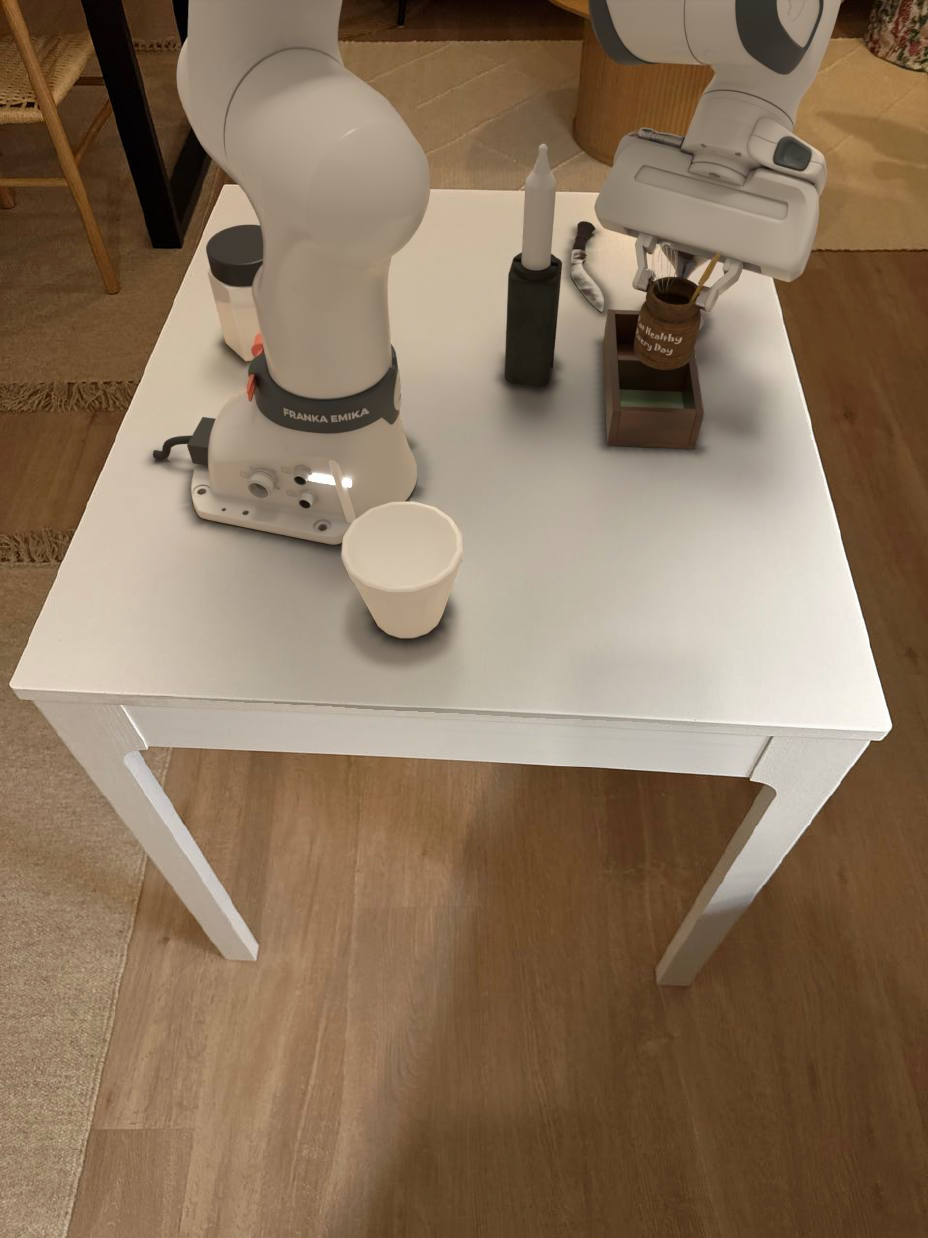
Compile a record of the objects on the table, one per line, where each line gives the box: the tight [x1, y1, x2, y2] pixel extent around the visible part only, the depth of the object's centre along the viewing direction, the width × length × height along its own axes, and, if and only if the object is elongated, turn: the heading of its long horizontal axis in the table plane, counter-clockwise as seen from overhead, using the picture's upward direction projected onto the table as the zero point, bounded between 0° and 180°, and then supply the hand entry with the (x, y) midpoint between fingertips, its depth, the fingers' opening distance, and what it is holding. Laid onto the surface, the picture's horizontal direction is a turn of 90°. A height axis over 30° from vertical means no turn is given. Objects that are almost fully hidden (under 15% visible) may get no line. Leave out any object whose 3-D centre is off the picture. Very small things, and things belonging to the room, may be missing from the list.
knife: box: [570, 220, 605, 313], centre depth 113 cm, size 18×1×5 cm
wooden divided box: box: [602, 308, 705, 450], centre depth 97 cm, size 9×17×5 cm, turn 176°
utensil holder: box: [634, 242, 722, 370], centre depth 85 cm, size 6×6×12 cm
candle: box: [503, 143, 563, 388], centre depth 91 cm, size 5×5×25 cm
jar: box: [205, 224, 263, 362], centre depth 100 cm, size 9×8×12 cm
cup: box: [341, 501, 464, 640], centre depth 77 cm, size 10×10×9 cm
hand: (671, 299), depth 84 cm, fingers closed on utensil holder, 5 cm apart
